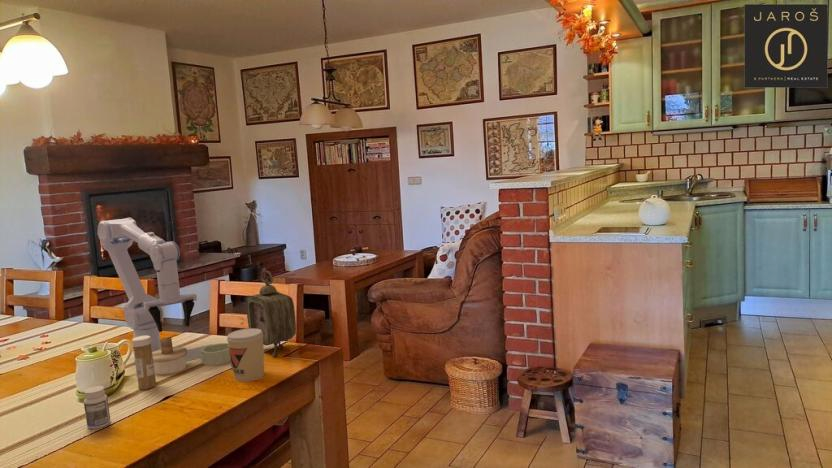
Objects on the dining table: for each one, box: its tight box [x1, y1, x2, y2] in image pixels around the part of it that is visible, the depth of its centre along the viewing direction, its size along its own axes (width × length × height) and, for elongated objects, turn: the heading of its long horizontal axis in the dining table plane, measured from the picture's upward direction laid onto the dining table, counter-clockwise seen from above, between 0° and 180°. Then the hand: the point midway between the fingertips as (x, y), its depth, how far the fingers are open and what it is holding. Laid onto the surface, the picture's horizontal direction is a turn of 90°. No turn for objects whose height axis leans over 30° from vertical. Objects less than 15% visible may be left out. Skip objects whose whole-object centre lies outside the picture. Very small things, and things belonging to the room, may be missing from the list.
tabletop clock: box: [245, 269, 297, 358], centre depth 181 cm, size 14×9×25 cm, turn 41°
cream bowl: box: [154, 356, 187, 375], centre depth 171 cm, size 9×9×4 cm
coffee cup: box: [226, 328, 265, 383], centre depth 160 cm, size 9×9×12 cm
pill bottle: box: [83, 385, 111, 430], centre depth 135 cm, size 5×5×8 cm
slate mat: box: [185, 343, 212, 362], centre depth 185 cm, size 12×11×1 cm
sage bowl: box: [201, 342, 231, 366], centre depth 176 cm, size 9×9×4 cm
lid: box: [152, 337, 188, 362], centre depth 170 cm, size 10×10×5 cm
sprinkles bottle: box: [131, 336, 157, 390], centre depth 158 cm, size 5×5×13 cm
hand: (173, 328), depth 178 cm, fingers open, 7 cm apart
